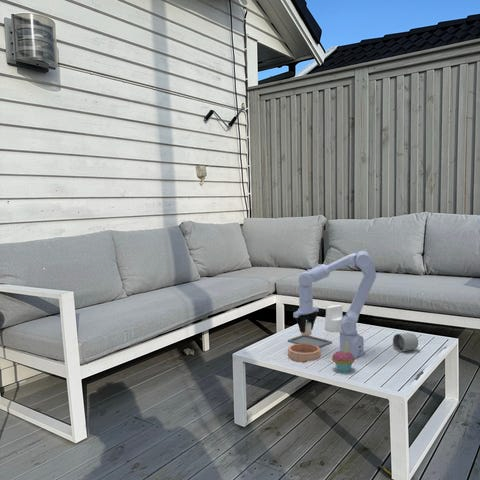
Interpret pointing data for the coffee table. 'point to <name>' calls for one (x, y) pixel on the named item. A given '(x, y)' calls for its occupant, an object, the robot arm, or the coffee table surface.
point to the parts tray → (310, 341)
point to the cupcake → (343, 360)
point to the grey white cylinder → (333, 318)
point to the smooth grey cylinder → (307, 329)
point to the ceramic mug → (405, 342)
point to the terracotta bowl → (303, 352)
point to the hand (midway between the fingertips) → (306, 330)
